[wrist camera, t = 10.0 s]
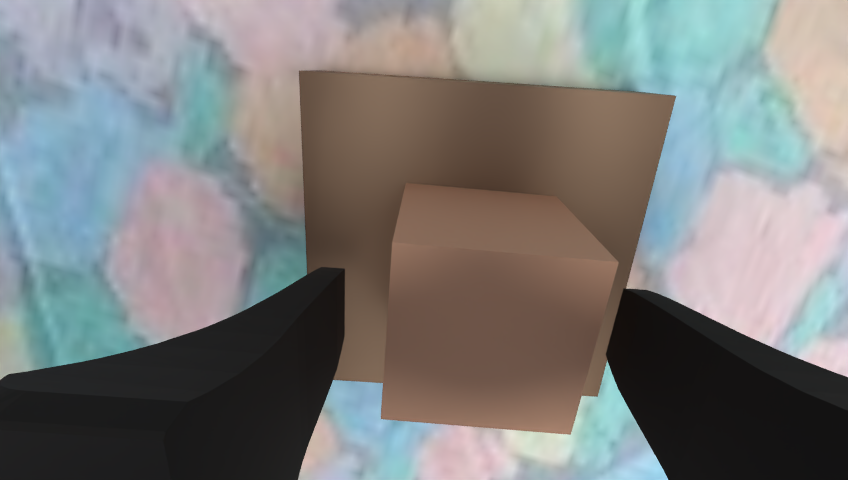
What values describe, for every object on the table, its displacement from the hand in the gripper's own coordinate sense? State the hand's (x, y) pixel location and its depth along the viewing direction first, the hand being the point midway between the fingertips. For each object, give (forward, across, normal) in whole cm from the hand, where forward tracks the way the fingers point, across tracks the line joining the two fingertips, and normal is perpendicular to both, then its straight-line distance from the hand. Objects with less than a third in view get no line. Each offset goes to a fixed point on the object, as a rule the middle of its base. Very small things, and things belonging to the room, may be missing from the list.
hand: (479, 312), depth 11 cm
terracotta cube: (+4, 0, 0) cm, 4 cm away
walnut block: (+7, 0, 0) cm, 7 cm away
